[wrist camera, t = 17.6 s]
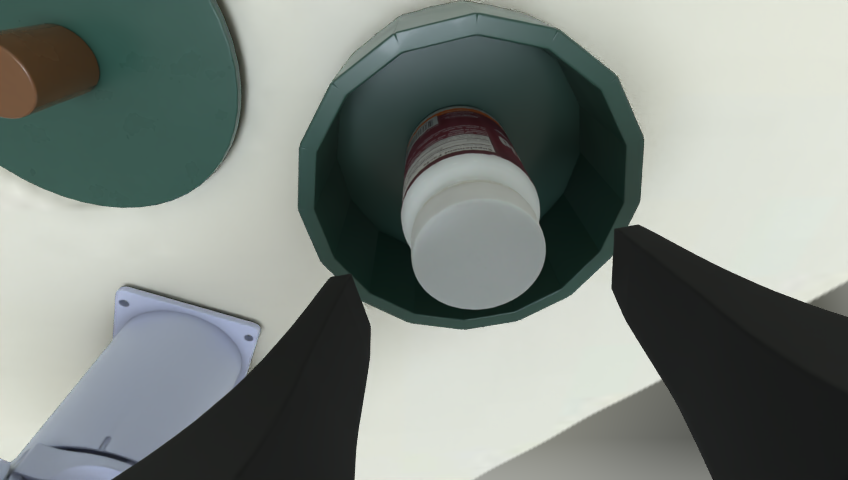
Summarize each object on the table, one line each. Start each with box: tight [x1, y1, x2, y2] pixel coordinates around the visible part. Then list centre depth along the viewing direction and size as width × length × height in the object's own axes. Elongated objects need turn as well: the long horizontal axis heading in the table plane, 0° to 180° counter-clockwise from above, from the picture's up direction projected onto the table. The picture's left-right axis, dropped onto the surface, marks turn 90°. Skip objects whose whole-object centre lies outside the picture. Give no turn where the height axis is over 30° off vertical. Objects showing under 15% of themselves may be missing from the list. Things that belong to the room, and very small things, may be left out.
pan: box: [298, 0, 644, 330], centre depth 18 cm, size 12×12×6 cm
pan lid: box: [0, 0, 241, 208], centre depth 16 cm, size 13×13×4 cm
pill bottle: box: [401, 106, 546, 310], centre depth 16 cm, size 5×5×8 cm
